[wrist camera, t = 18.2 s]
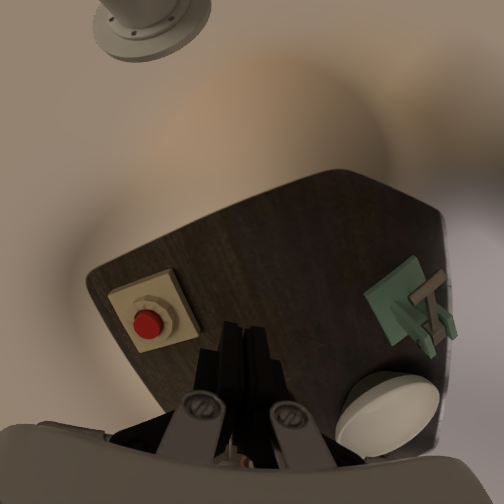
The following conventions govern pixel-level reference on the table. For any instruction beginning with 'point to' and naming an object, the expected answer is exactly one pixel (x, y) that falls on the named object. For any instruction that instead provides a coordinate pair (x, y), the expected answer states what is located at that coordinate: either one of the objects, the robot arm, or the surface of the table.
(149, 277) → the block
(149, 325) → the button
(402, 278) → the green lever stand
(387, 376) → the bowl
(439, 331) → the lever handle
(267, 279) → the table surface
